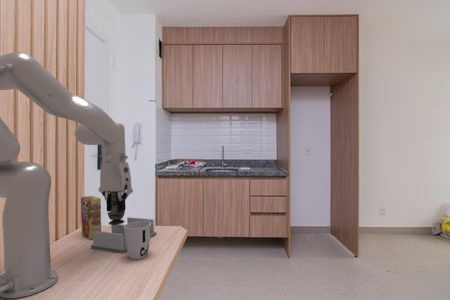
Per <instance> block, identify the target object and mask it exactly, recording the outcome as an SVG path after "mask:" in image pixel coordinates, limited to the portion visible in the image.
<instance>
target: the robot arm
mask: <svg viewBox="0 0 450 300" xmlns="http://www.w3.org/2000/svg"><path fill="white" fill-rule="evenodd" d="M15 89H16V90H18V91H19V92H20V93H22V94H23V95H24V96H25V97H27V98H28V99H29V100H31V101H32V102H33V103H35V104H36V105H37V106H38V107H39V108H41V109H42V110H43V111H44V112H45V113H46V114H49V115H52V116H54V117H57V118H62V119H64V120H65V119H66V120H69V121H73V122H76V123H78V125H77V127H76V128H75V130H74V137H75V139H76V140H77V141H78V142H79V143H81V144H82V145H86V146H97V145H100V146H101V153H102V154H101V158H102V160H101V161H102V162H101V165H100V174H99V175H100V177H99V185H100V186H99V187H98V192H99V193H100V194H101V195H102V196H103V197H104V200H105V202H106V212H107V213H108V212H110V211H111V208H112V207H111V203H110V202H111V201H112V200H111V193H112V192H117V193H118V198H119V201H118V212H122V211H125V212H126V200H127V199H128V198H129V196H130V195H131V194H132V193H133V192H134V190H133V188H132V175H131V170H130V165H129V163H128V162H127V160H128V158H129V157H128V155H127V154H126V134H125V133H126V132H125V130H126V129H125V125H124V124H122V123H119V122H117V123H116V122H115V120H114V119H113V118H112V117H110V115H109V114H108V113H107V112H105V110H103V108H100V107H99V106H98V105H96V104H94V103H92V102H91V101H88V100H86V99H85V98H83V97H81V96H78V95H76V94H74V93H72V91H70V90H69V89H68V88H67V87H65V85H63V84H62V83H61V82H60V81H59V80H58V79H57V78H56V77H55V76H54V75H53V74H52V73H50V71H48V69H46V68H45V67H44V66H43V65H42V64H41V63H40V62H39V61H38V60H37V59H35V58H34V57H33V56H32V55H30V54H28V53H26V52H21V51H16V52H15V51H14V52H13V51H12V52H9V53H4V54H1V55H0V91H9V90H15ZM20 153H21V144H20V142H19V140H18V138H17V136H16V135H15V134H14V133H13V131H12V129H10V128H9V127H8V125H7V124H6V123H5V121H4V120H3V119H2V117H1V116H0V198H4V199H5V202H4V207H3V211H2V219H1V220H2V223H1V224H2V227H1V228H2V240H3V242H2V243H3V256H4V257H3V259H4V260H3V261H4V273H2V274H0V298H3V299H18V298H24V297H27V296H31V295H34V294H38V293H40V292H42V291H44V290H46V289H49V288H50V287H51V286H53V285H54V284H56V283H57V281H58V280H59V273H58V272H57V271H56V270H54V269H52V265H51V261H52V260H51V259H52V258H51V241H50V239H51V238H50V221H49V220H50V217H49V204H50V203H49V202H50V194H51V189H52V188H51V187H52V177H51V174H50V172H49V170H48V169H47V168H46V167H44V166H43V165H41V164H39V163H36V162H32V161H15V160H16V159H17V158H18V156H19V154H20Z"/></svg>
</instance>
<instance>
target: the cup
mask: <svg viewBox="0 0 450 300" xmlns="http://www.w3.org/2000/svg"><path fill="white" fill-rule="evenodd" d="M124 233H125V241H126V246H127V250H128V251H127V253H128V255H129V258H130V259H131V260H141V259H145V258H146V257H147V256H148V253H149V249H150V243H151V238H150V233H151V223H150V222H147V221H137V222H132V223H128V224H127V223H126V224H124Z"/></svg>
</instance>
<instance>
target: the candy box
mask: <svg viewBox="0 0 450 300" xmlns="http://www.w3.org/2000/svg"><path fill="white" fill-rule="evenodd" d="M101 200H102V199H101V197H99V196H98V197H96V196H94V195H85V196H81V197H80V212H81V215H80V216H81V219H80V220H81V236H83V237H84V238H87V239H89V240H92V241H93V231H101V232H102V203H101V202H102V201H101Z"/></svg>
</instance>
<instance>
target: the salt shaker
mask: <svg viewBox="0 0 450 300" xmlns="http://www.w3.org/2000/svg"><path fill="white" fill-rule="evenodd" d="M111 200H112V201H111V202H110V203H111V207H112V208H111V211H109V212H108V211H107V215H108V218H109V220H110V221H109V222H108V225H110V226H111V225H118V224H124V223H125V220H124V217H125V213H126V210H125V211H122V212H118V201H119V198H118V193H117V192H112V193H111Z"/></svg>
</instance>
